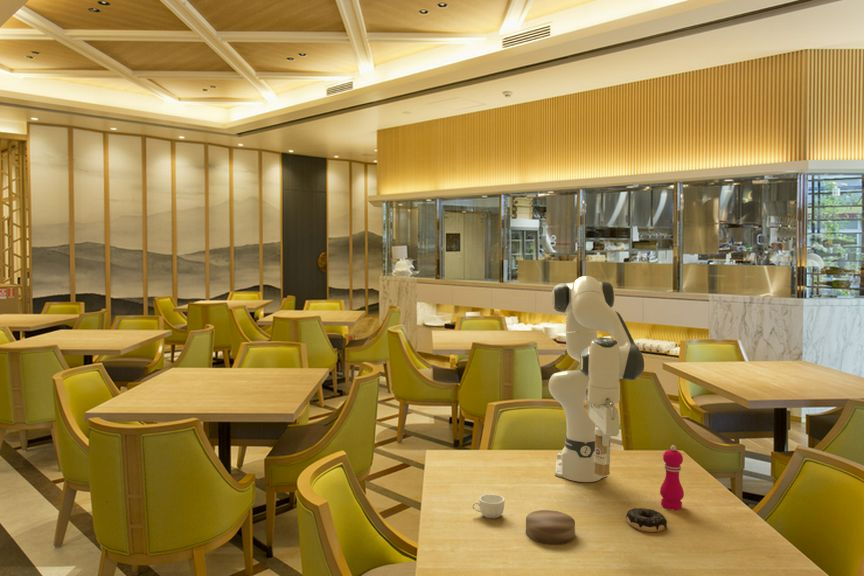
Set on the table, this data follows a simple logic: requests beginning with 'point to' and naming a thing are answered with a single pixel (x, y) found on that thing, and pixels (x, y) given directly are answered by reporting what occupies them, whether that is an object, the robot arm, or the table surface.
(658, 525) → the donut
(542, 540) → the disc
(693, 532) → the table surface
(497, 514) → the teacup
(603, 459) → the sprinkles bottle
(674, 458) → the pepper mill
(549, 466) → the table surface
